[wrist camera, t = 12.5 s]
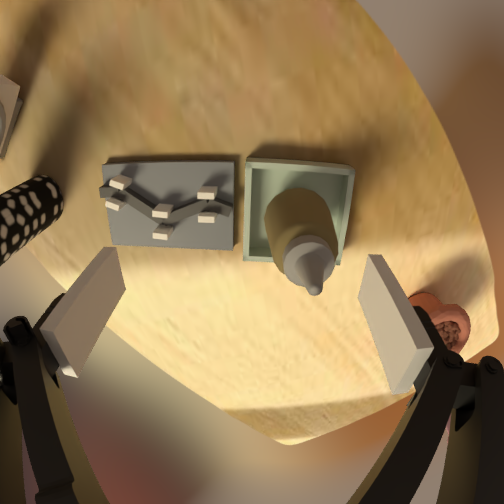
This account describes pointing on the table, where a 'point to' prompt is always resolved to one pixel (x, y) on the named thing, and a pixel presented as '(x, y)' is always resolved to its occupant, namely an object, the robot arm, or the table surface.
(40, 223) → the white-spotted black cylinder
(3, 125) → the alarm clock
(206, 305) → the table surface
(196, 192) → the grey peg board
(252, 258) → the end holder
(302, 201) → the squeeze bottle
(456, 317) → the decorative flower
